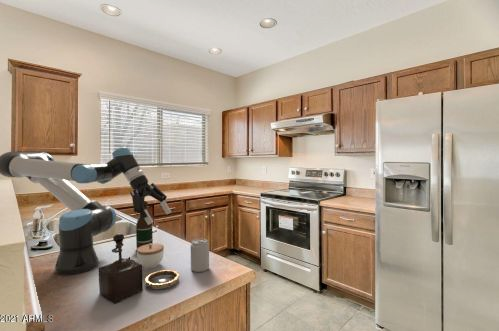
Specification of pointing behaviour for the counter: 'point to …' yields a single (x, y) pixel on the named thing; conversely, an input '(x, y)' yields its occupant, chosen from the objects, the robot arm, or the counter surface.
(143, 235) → the beer bottle
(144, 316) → the counter surface
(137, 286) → the dark brown coffee grinder
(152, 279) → the coaster
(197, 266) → the can
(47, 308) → the counter surface
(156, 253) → the lidded jar
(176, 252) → the counter surface
